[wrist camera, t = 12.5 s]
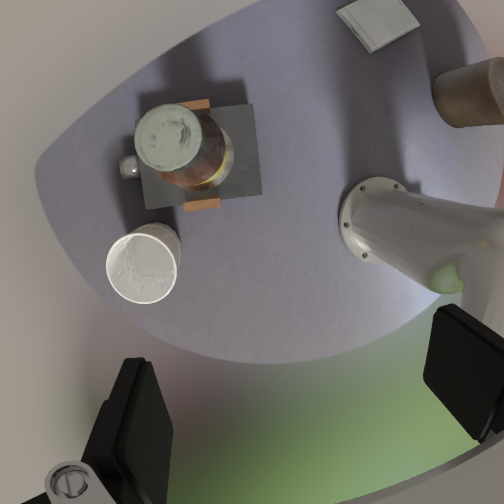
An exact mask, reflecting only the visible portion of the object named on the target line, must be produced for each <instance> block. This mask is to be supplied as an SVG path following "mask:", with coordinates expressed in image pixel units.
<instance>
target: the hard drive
mask: <svg viewBox="0 0 504 504" xmlns="http://www.w3.org/2000/svg"><path fill="white" fill-rule="evenodd" d="M336 13H337V15H338V16H339V17H340V18H341V19H342V20H343V21H344V23H345V24H346V25H347V26H348V27H349V28H350V30H351V31H352V32H353V33H354V34H355V36H356V37H357V38H358V39H359V41H360V42H361V43H362V44H363V46H364V47H365V48H366V49H367V51H368V52H369V53H370V54H371V53H373V52H375V51H376V50H378V49H380V48H381V47H383V46H385V45H387V44H388V43H390V42H392V41H394V40H395V39H397V38H399V37H401V36H403V35H404V34H406V33H408V32H410V31H412V30H414V29H415V28H417V27H419V26H420V24H419V22H418V21H417V19H416V18H415V17H414V16H413V14H412V13H411V12H410V10H409V9H408V8H407V7H406V5H405V4H404V3H403V2H402V1H401V0H358V1H356V2H354V3H352V4H350V5H348V6H345V7H343V8H341V9H339V10H338V11H337V12H336Z"/></svg>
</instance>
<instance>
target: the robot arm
mask: <svg viewBox="0 0 504 504" xmlns="http://www.w3.org/2000/svg"><path fill="white" fill-rule="evenodd" d="M360 187H361V188H362V189H361V190H360ZM344 223H346V224H345V225H344ZM339 230H340V235H341V237H342V240H343V243H344V244H345V246H346V247H347V249H348V250H349V251H350V252H351V253H352V254H353V255H354V256H356V257H357V258H359V259H360V260H362V261H365V262H369V263H383V262H386V263H387V264H389V265H390V266H392V267H394V268H395V269H397V270H398V271H400V272H402V273H403V274H405V275H406V276H408V277H409V278H411V279H412V280H414V281H416V282H417V283H419V284H421V285H422V286H424V287H425V288H427V289H428V290H430V291H433V292H435V293H439V294H453V293H458V292H462V296H461V300H460V305H459V307H458V306H457V305H455V304H453V303H452V304H448V305H444V306H441V307H439V308H438V309H437V311H436V313H435V314H434V316H433V322H432V329H431V335H430V341H429V347H428V352H427V357H426V363H425V367H424V372H423V379H424V382H425V383H426V385H427V386H428V387H429V388H430V389H431V391H432V392H433V393H434V394H435V395H436V396H437V397H438V399H439V400H440V401H441V402H442V403H443V404H444V406H445V407H446V408H447V409H448V410H449V411H450V412H451V414H452V415H453V416H454V417H455V418H456V420H457V421H458V422H459V423H460V424H461V426H462V427H463V428H464V429H465V430H466V432H467V433H468V434H469V435H470V436H471V437H472V439H474V440H477V441H478V442H479V443H480V445H478V446H476V447H475V448H473V449H471V450H469V451H467V452H465V453H464V454H462V455H460V456H458V457H456V458H454V459H452V460H450V461H448V462H446V463H444V464H442V465H440V466H438V467H435V468H433V469H431V470H429V471H427V472H424V473H422V474H420V475H417V476H415V477H413V478H410V479H408V480H406V481H403V482H401V483H398V484H395V485H393V486H390V487H387V488H385V489H381V490H379V491H376V492H373V493H370V494H367V495H363V496H360V497H357V498H354V499H351V500H347V501H343V502H340V503H337V504H504V208H489V207H479V206H474V205H468V204H462V203H458V202H453V201H449V200H444V199H439V198H435V197H430V196H425V195H420V194H415V193H410V192H408V191H407V190H406V188H405V187H404V186H402V185H401V184H400V183H399V182H397V181H395V180H394V179H391V178H387V177H371V178H367V179H365V180H363V181H361V182H359V183H358V184H356V185H355V186H354V187H353V188H352V189H351V190H350V191H349V193H348V194H347V196H346V197H345V199H344V201H343V203H342V206H341V209H340V215H339ZM363 253H364V254H363ZM362 254H363V255H362ZM495 434H496V435H495ZM172 439H173V426H172V422H171V419H170V416H169V414H168V411H167V408H166V405H165V402H164V400H163V397H162V394H161V391H160V388H159V385H158V382H157V379H156V376H155V373H154V369H153V366H152V363H151V362H150V361H149V362H146V361H145V359H144V358H143V357H139V358H126V359H125V360H124V362H123V364H122V367H121V369H120V372H119V374H118V377H117V379H116V381H115V384H114V386H113V389H112V391H111V394H110V396H109V399H108V400H105V401H104V402H103V404H102V406H101V408H100V411H99V413H98V416H97V419H96V421H95V424H94V427H93V429H92V432H91V434H90V437H89V440H88V442H87V445H86V448H85V451H84V453H83V456H82V459H81V462H79V461H66V462H63V463H60V464H58V465H56V466H55V467H53V468H52V469H51V470H50V471H49V472H48V474H47V476H46V478H45V489H46V492H44V493H43V494H40V495H38V496H36V497H34V498H32V499H30V500H28V501H26V502H24V503H22V504H166V501H167V488H168V478H169V468H170V458H171V447H172Z"/></svg>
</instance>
